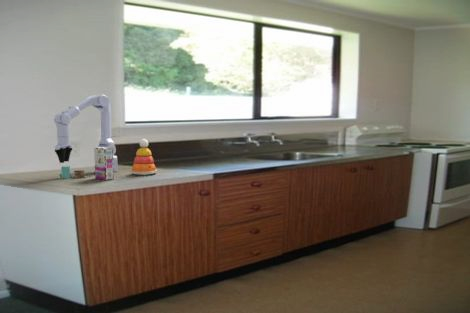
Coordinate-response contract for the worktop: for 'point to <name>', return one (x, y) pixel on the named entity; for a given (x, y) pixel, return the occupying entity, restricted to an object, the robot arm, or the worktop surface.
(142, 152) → the stacking toy
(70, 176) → the rod
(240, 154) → the worktop surface
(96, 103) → the robot arm
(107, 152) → the candy bar box
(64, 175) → the block
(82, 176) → the channel
